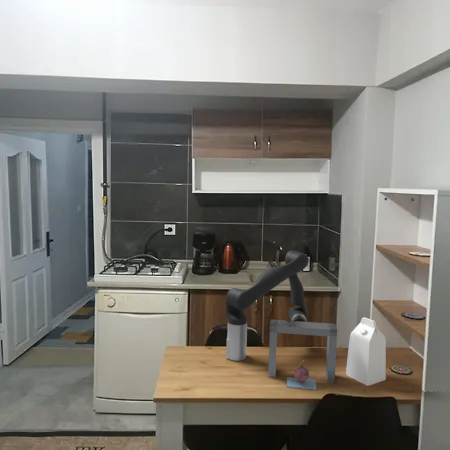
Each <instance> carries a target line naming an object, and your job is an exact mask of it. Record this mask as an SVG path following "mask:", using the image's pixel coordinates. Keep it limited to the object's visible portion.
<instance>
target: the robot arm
mask: <svg viewBox="0 0 450 450" xmlns="http://www.w3.org/2000/svg"><path fill="white" fill-rule="evenodd" d="M308 266H309V257H308V255H307V254H306V253H304V252H300V251H296V250H289V251H288V252H286V255H285V256H284V264H282V265H277V266H273V267H269V268H268V269H266V270H265V271H263V272H261V274H259V276H258V278H257V279H256V281H255V284H254V285H252V286H250V287H249V288H248V289H246V290H243V289H241V288H238V287H233V288H230V289H229V290H228V291H227V293H226V297H225V313H226V314H225V316H226V318H227V336H226V350H225V351H226V354H225V357H226V358H225V359H227V360H230V361H237V362H238V361H243V360H245V359H247V342H248V341H247V339H248V338H247V336H248V333H247V332H248V317H247V315H246V314H245V313H244V311H245V310H247V309H248V308H250V307H251V306H252V305H253V304H254V303H256V301H258V300H259V299H260V298H261V297H263V296H264V295H266V294H267V293H268V292H269V291H271V290H273V289H274V288H276V287H277V286H278V285H280V284H281V283H284V281H286V280H287V279H288V282H289V288H290V300H291V304H292V305H294V306H293V307H290V308H289V310H288V317H289V319H290V321H301V322H308V321H307V319H308V317H309V311H308V309H307V306H306V302H305V290H304V287H303V285H302V282H301V280H300V278H299V276H298V273H300V272H302V271H303V270H305V269H306V268H307V267H308ZM307 336H308V337H311V335H307Z"/></svg>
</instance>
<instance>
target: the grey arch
mask: <svg viewBox="0 0 450 450" xmlns="http://www.w3.org/2000/svg"><path fill="white" fill-rule="evenodd" d="M336 325H337V324H336V323H330V322H329V323H328V322H315V321H311V322H310V321H307V322H301V321H292V320H285V319H270V322H269V344H268V345H269V347H268V348H269V349H268V376H267V378H276V371H277V349H278V348H277V347H278V346H277V345H278V342H277V341H278V334H289V335H292V334H293V335H305V336H308V335H310V336H317V337H319V336H320V337H326V338H327V339H326V340H327V341H326V359H325V362H326V363H325V378H326V382H327V383H333V384H334V383H335V382H336V381H335V380H336V362H337V361H336V360H337V345H338V343H337V340H338V328H337V326H336Z"/></svg>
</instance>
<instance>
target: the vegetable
mask: <svg viewBox="0 0 450 450" xmlns="http://www.w3.org/2000/svg"><path fill="white" fill-rule="evenodd" d="M304 364H305V360H304V359H302V361H301V364H300V366H299V367H297V368H296V369H295V371H294V378H296V379H297V380H299V381H301V382H302V383H303V382H305V381H306V380H307V379H309V377H310V370H309V369H308V368H306V367H305V366H304Z"/></svg>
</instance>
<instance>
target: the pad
mask: <svg viewBox="0 0 450 450" xmlns="http://www.w3.org/2000/svg"><path fill="white" fill-rule="evenodd" d="M286 388H288V389H289V388H290V389H291V388H292V389H299V388H301V389H302V390H310V389H313V390H314V391H317V389H318V388H317V381H316V379H312V378H308V379H307V380H306V381H305V382H303V383H302V382H301V381H299V380H297V379H296V377H288V376H287V377H286ZM313 390H312V391H313Z"/></svg>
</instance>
